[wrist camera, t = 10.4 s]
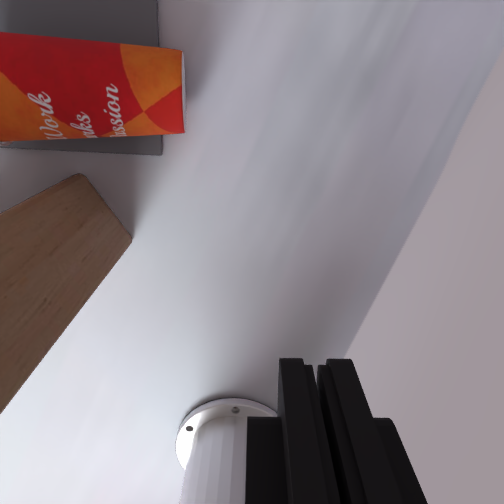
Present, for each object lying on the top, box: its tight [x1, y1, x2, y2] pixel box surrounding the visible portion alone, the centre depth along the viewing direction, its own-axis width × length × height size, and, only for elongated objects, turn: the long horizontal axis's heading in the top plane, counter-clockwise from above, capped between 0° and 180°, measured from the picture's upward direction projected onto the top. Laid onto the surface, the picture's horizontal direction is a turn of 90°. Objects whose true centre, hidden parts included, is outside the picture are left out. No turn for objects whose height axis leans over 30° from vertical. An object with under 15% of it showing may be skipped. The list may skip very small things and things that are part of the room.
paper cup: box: [0, 32, 186, 146], centre depth 30 cm, size 8×8×14 cm
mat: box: [0, 0, 162, 156], centre depth 33 cm, size 14×15×1 cm
